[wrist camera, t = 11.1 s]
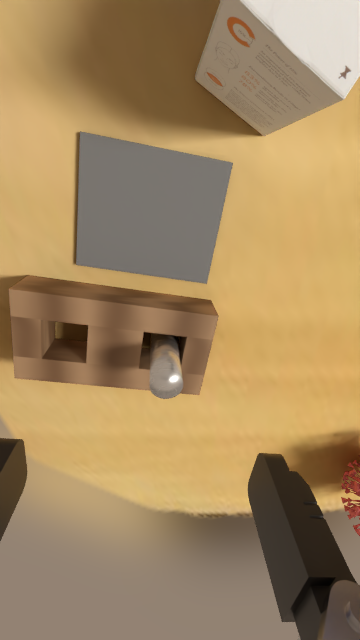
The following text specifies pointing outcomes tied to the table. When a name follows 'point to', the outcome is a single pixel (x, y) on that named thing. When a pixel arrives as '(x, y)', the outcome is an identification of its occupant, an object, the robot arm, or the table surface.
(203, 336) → the socket block
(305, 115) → the small box
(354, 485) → the virus model
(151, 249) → the mat
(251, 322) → the table surface
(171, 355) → the peg
